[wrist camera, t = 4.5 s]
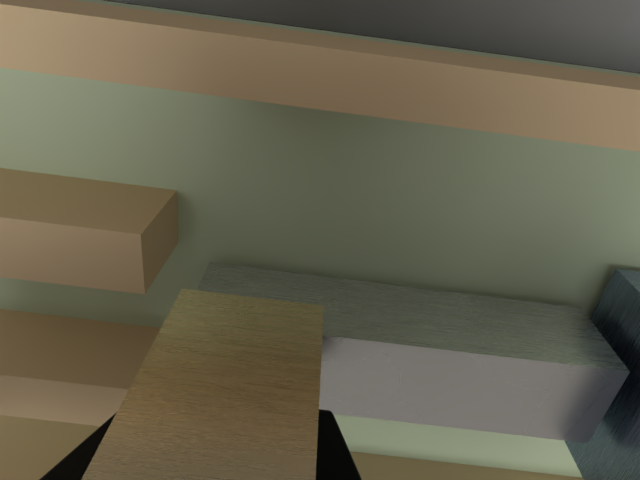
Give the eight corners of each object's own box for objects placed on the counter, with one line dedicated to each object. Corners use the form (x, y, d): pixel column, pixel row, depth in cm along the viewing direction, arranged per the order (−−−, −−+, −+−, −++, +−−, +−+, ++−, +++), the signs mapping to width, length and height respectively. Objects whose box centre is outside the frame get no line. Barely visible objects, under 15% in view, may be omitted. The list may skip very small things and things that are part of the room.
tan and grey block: (585, 410, 14) (849, 861, 7) (208, 366, 14) (62, 788, 7) (661, 273, 12) (1191, 741, 4) (210, 217, 12) (-17, 617, 4)
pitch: (713, 486, 18) (792, 591, 15) (1, 406, 17) (-73, 498, 14) (1021, 125, 11) (1283, 176, 8) (-127, -32, 10) (-323, -40, 7)
